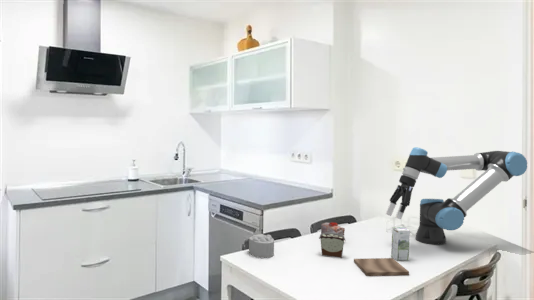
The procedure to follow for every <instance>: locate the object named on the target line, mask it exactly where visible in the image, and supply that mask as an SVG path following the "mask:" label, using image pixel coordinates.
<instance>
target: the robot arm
mask: <svg viewBox="0 0 534 300" xmlns="http://www.w3.org/2000/svg"><path fill="white" fill-rule="evenodd" d="M527 169H528V160H527V158H526V157H525V155H523V154H522V153H520V152H516V151H504V150H492V151H490V150H489V151H485V152H476V153H474V154H472V155H469V154H468V155H452V156H436V157H430V156H428V151H427V150H426V149H424V148H421V147H413V148H412V149H411V151H410V152H409V155H408V158H407V161H406V163H405V166H404V167H403V169H402V170H403V171H402V173H401V174H402V175H400V177H399V180H398V182H399V183H400V184H398V185H397V186H396V188H395V190H394V192H393V194H392V195H391V197H390V198H389V202H390V203H389V205H388V208H387V210H386V212H385V215H388V216H389V217H392V216H393V215H392V214H393V212H394V209H395V207H396V205H397V202H398V201H399V199H400V198H401V202H400V203H399V204H400V205H399V207H398V210H397V212H396V214H395V218H397V219H399V220H402V218H403V216H404V214H405V211H406V208H407V207H409V206H410V204H411V198H412V194H413V193H412V192H413V189H414V187H415V185H416V183H417V180H418V178H419V176H420V174H421V173H424V174H427V175H430V176H433V177H435V178H439V179H441V178H443V177H445V175H446V174H447V172H448V171H460V170H461V171H463V170H476V171H479V172H481V171H484V172H483V173H481V174H480V175H479V176H478V177H476V178H475V179H474V180H473V181H472V182H471V183H470V184H469V185H467V186H466V187H465V188H464V189H462V190H461V191H460V192H459V193H457V194H456V195H455V196H454V197H453V198H452V197H451V198H447V199H445V200H444V199H442V198H422V199H420V200H419V201H420V204H419V225H418V229H417V230H416V233H415V240H416V241H418V242H419V243H424V244H426V245H427V244H429V245H444V244H446V243H447V237H446V234H445V231H444V230H447V231H455V230H458V229H459V228H461V227H462V225H464V220H465V218H466V217H467V216H468V215H467V212H468V211H469V210H470V209H471V208H473V207H474V206H475V205H476V204H477V203H478V202H480V200H482V199H483V198H484V197H486V196H487V195H488V194H489V193H490V192H491V191H493V190H494V189H495V188H496V187H497V186H498V185H500V184H501V183H502V182H505V183H506V182H508V181H509V180H511V179H512V178H513V177H520V176H523V175H524V174H525V173H526V171H527Z"/></svg>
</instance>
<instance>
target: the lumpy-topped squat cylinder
mask: <svg viewBox="0 0 534 300" xmlns="http://www.w3.org/2000/svg"><path fill="white" fill-rule="evenodd" d="M248 253H249V254H250V255H251V256H253V257H254V258H255V257H256V258H260V259H271V258H273V257H274V256H275V239H274V238H273V237H272V235H271V234H263V233H259V234H254V235H252V236H249V237H248Z"/></svg>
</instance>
